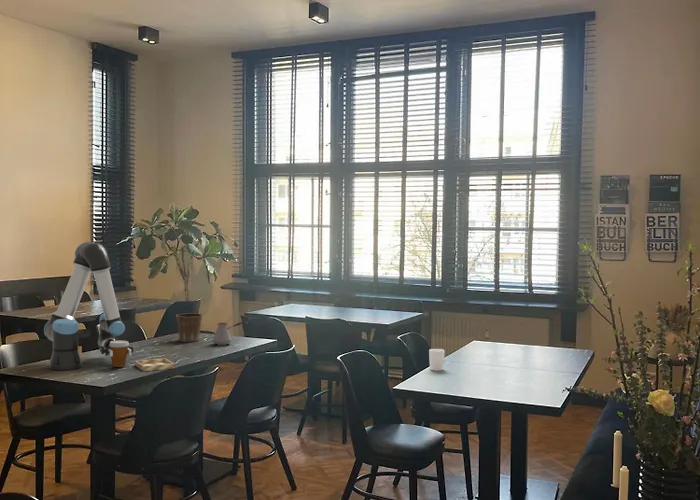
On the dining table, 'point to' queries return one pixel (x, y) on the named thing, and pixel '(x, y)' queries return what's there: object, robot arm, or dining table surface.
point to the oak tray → (154, 364)
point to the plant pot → (189, 326)
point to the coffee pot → (223, 334)
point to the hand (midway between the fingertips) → (121, 353)
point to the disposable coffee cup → (119, 352)
